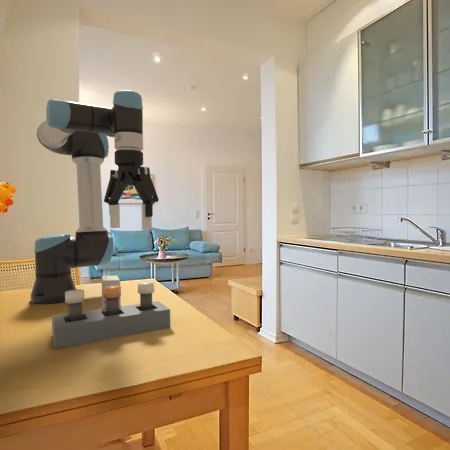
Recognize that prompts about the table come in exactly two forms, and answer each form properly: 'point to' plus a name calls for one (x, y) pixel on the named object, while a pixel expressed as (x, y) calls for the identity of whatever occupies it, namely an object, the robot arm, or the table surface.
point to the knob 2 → (145, 295)
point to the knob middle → (112, 299)
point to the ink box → (109, 282)
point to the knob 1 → (74, 304)
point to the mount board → (108, 324)
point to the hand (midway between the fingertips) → (130, 228)
